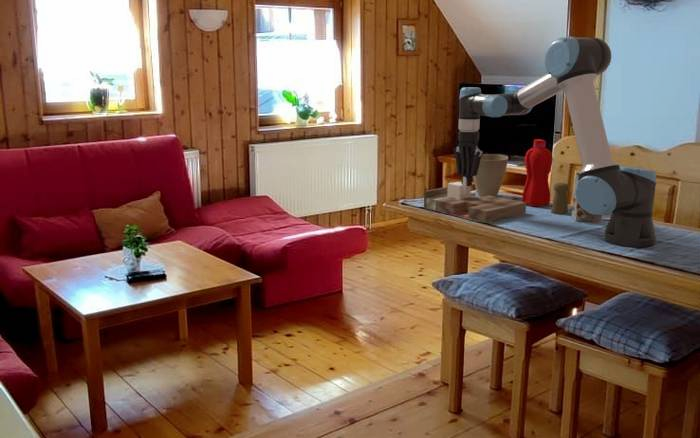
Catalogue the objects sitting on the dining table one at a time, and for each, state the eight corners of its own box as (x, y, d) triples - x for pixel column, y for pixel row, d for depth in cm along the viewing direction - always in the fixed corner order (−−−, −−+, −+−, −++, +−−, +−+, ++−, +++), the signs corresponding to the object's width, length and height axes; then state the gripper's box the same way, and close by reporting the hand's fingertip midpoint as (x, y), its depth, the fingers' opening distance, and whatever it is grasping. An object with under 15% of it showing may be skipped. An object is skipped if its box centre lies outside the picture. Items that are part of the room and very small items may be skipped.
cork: (571, 213, 258) (573, 183, 255) (557, 215, 255) (560, 185, 253) (561, 210, 263) (563, 181, 261) (547, 211, 261) (549, 182, 258)
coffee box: (575, 221, 246) (578, 175, 242) (571, 217, 252) (574, 172, 249) (602, 222, 245) (606, 176, 242) (597, 217, 251) (601, 173, 248)
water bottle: (556, 205, 272) (561, 139, 266) (534, 208, 267) (538, 141, 261) (540, 200, 280) (544, 137, 274) (518, 203, 275) (522, 138, 269)
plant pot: (462, 193, 293) (463, 155, 289) (494, 191, 297) (496, 153, 294) (479, 200, 279) (481, 160, 275) (513, 198, 283) (515, 158, 280)
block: (470, 197, 267) (470, 183, 266) (459, 199, 263) (459, 185, 262) (458, 194, 271) (458, 181, 270) (447, 196, 268) (447, 183, 266)
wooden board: (525, 213, 258) (526, 196, 256) (485, 222, 244) (486, 204, 243) (463, 200, 280) (463, 183, 279) (423, 207, 267) (424, 190, 265)
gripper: (489, 131, 256) (486, 195, 261) (462, 128, 266) (460, 190, 271) (475, 132, 251) (472, 198, 257) (448, 129, 261) (446, 192, 266)
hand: (466, 194), depth 264 cm, fingers closed
